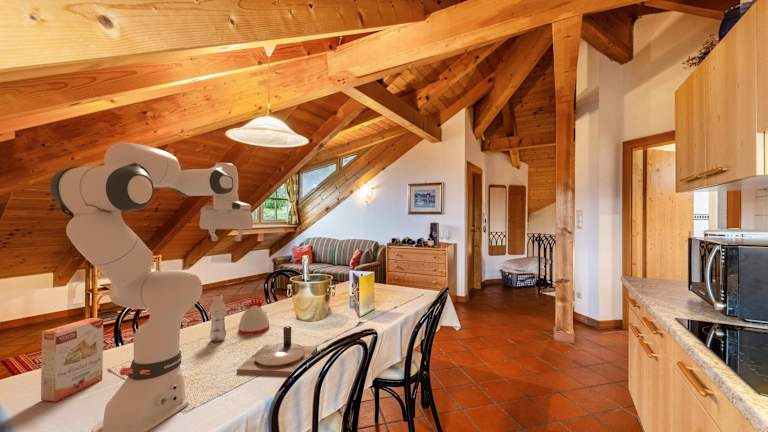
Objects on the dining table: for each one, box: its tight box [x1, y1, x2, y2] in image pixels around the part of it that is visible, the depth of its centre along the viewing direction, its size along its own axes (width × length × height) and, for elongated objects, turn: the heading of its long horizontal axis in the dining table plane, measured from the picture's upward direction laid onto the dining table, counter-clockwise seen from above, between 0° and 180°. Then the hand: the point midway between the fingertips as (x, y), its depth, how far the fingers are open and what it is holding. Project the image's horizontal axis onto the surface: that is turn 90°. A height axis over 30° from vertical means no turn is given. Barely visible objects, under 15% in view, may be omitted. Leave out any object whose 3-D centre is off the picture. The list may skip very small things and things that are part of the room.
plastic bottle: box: [209, 294, 227, 343], centre depth 145 cm, size 6×7×20 cm
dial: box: [254, 325, 304, 367], centre depth 124 cm, size 18×18×8 cm
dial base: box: [236, 344, 318, 377], centre depth 124 cm, size 22×22×2 cm
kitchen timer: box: [238, 297, 270, 335], centre depth 159 cm, size 14×14×15 cm
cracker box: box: [40, 317, 104, 403], centre depth 104 cm, size 14×6×21 cm, turn 170°
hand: (226, 240), depth 127 cm, fingers open, 8 cm apart
